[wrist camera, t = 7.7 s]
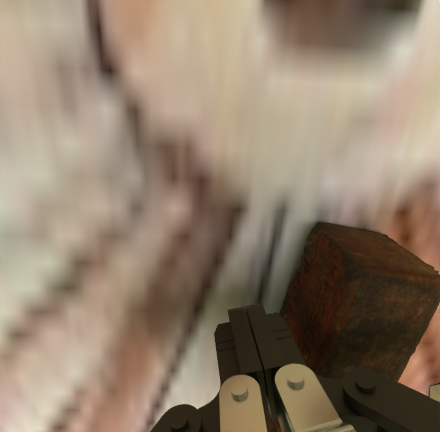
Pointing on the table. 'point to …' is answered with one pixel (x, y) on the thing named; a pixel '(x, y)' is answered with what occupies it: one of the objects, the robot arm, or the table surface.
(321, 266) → the brick
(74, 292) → the table surface
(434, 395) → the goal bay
